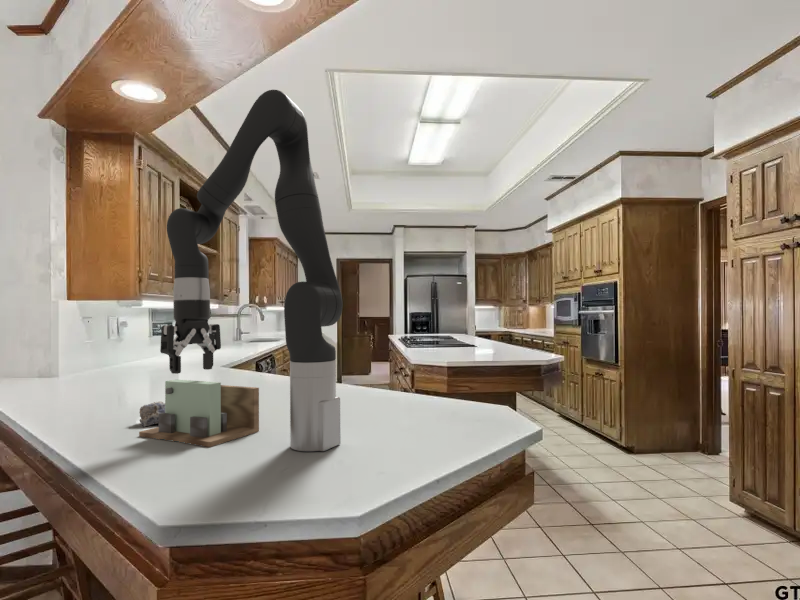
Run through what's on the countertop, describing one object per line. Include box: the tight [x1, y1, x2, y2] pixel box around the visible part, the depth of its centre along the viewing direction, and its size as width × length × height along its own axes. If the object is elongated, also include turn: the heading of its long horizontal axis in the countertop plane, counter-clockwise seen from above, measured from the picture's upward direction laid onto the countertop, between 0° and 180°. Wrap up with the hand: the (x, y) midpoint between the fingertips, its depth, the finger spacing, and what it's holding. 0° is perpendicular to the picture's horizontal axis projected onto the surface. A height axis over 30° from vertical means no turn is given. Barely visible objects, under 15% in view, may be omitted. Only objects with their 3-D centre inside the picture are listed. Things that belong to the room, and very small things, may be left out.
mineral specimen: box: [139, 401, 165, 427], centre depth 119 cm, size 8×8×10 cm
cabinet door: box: [164, 379, 222, 436], centre depth 104 cm, size 14×4×11 cm, turn 64°
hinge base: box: [138, 384, 260, 448], centre depth 106 cm, size 22×14×10 cm, turn 64°
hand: (192, 371), depth 104 cm, fingers open, 8 cm apart
